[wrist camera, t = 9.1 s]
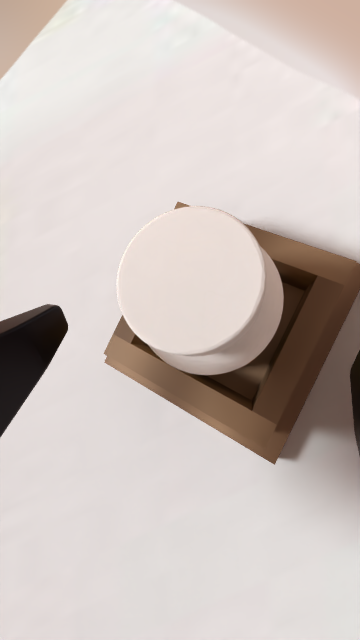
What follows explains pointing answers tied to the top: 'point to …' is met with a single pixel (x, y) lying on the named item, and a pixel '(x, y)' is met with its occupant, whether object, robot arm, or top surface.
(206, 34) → the top surface
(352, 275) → the bottle holder
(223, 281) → the supplement bottle
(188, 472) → the top surface
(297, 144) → the top surface
